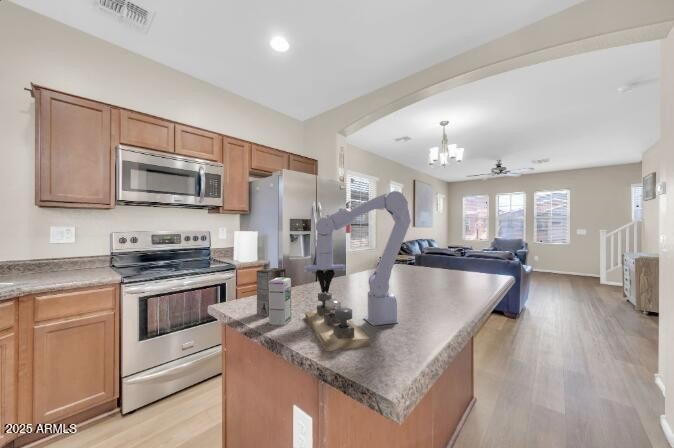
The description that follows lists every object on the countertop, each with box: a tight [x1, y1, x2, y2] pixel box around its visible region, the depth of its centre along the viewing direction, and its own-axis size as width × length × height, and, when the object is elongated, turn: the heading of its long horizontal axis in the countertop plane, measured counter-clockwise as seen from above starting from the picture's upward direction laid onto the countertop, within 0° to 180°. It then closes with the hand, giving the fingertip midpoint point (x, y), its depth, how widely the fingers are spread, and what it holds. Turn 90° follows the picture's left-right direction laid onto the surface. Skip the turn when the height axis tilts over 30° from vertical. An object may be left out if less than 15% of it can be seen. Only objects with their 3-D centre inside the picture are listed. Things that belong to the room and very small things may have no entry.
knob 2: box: [335, 307, 353, 328], centre depth 75 cm, size 5×5×4 cm
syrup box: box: [268, 277, 292, 326], centre depth 92 cm, size 6×6×14 cm
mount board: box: [304, 304, 371, 352], centre depth 85 cm, size 12×28×4 cm, turn 18°
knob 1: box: [317, 292, 333, 308], centre depth 94 cm, size 5×5×4 cm
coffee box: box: [256, 267, 287, 318], centre depth 103 cm, size 9×6×16 cm
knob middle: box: [325, 298, 342, 317], centre depth 85 cm, size 5×5×4 cm
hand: (324, 292), depth 94 cm, fingers closed
